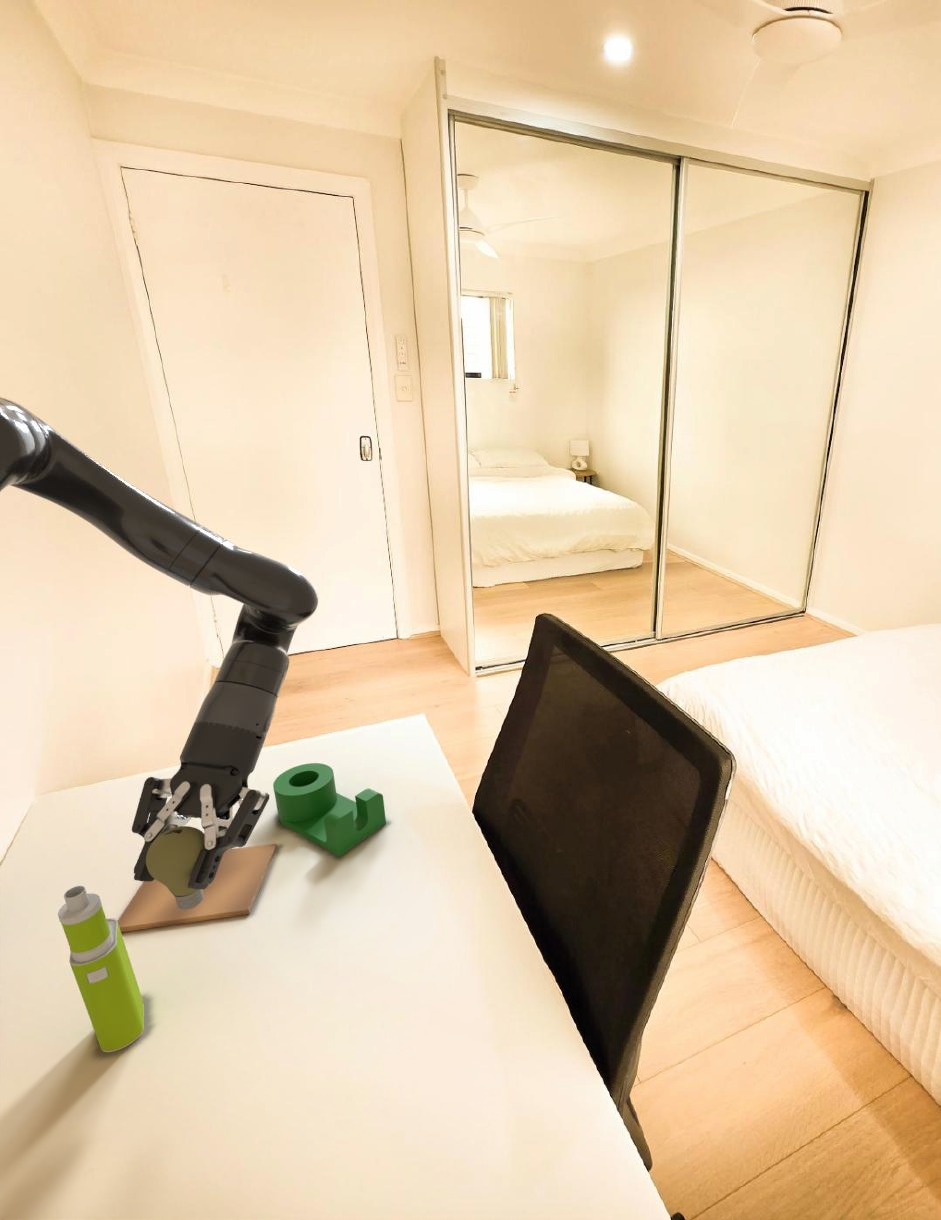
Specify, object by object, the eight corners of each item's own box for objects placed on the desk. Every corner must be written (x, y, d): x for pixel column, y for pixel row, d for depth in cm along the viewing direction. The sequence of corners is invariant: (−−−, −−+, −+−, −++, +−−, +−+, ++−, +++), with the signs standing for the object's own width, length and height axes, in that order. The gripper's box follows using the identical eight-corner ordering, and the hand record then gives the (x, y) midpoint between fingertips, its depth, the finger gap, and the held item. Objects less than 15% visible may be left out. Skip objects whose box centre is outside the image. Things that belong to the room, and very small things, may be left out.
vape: (100, 1059, 63) (46, 914, 57) (103, 1014, 68) (54, 874, 61) (144, 1039, 65) (97, 896, 59) (144, 996, 70) (100, 859, 63)
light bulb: (215, 878, 70) (197, 808, 67) (227, 906, 66) (210, 833, 63) (157, 904, 66) (135, 831, 63) (167, 935, 63) (144, 859, 59)
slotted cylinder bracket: (267, 816, 100) (261, 784, 98) (315, 788, 107) (310, 757, 105) (339, 856, 92) (334, 822, 90) (386, 823, 99) (382, 790, 97)
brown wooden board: (113, 933, 78) (112, 928, 78) (160, 861, 90) (159, 857, 90) (249, 914, 81) (248, 909, 81) (277, 847, 93) (276, 843, 93)
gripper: (152, 713, 68) (78, 875, 61) (269, 725, 66) (207, 893, 59) (198, 729, 74) (136, 877, 67) (305, 741, 73) (254, 894, 66)
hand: (170, 884), depth 63 cm, fingers closed on light bulb, 5 cm apart
